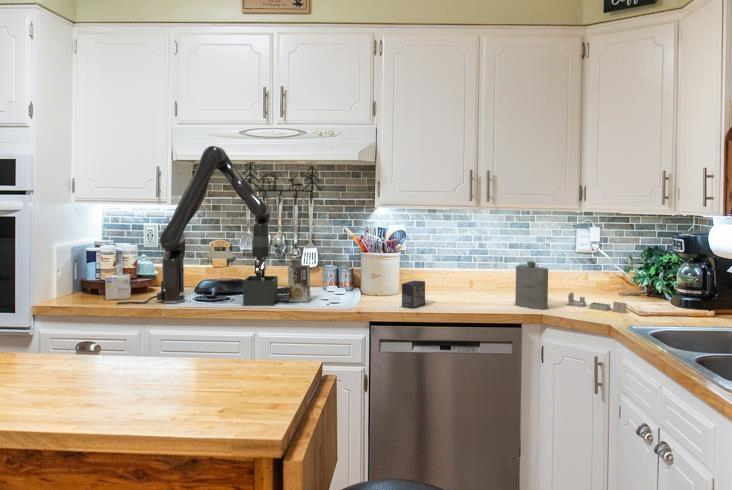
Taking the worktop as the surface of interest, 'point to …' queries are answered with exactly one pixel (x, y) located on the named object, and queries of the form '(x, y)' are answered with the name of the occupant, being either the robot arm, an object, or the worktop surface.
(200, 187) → the robot arm
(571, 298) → the bathroom set
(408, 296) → the small box
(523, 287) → the flask
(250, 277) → the waste bin
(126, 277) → the light bulb box
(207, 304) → the worktop surface
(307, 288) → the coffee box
